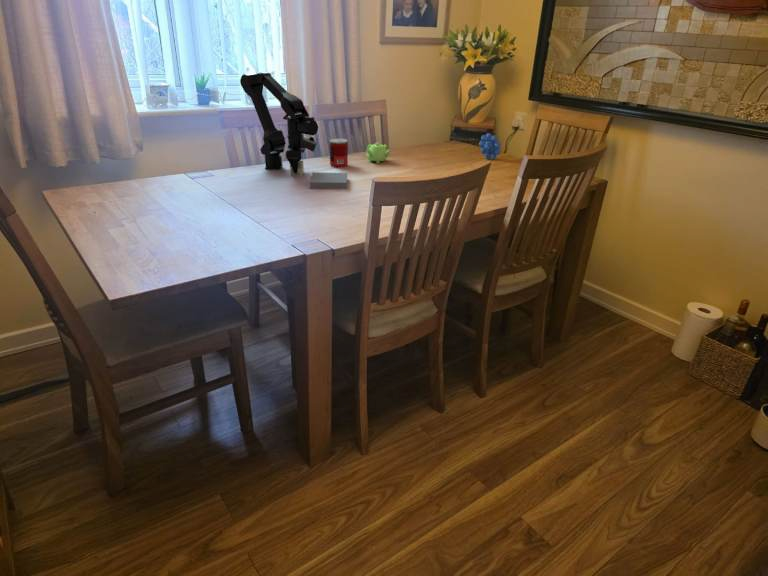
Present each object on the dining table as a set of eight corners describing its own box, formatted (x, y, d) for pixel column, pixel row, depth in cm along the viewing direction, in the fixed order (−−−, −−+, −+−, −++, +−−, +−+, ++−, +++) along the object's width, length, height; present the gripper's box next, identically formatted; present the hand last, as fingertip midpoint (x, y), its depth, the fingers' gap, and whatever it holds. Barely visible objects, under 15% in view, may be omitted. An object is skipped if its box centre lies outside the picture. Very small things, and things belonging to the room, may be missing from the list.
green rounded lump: (363, 158, 240) (363, 140, 236) (387, 158, 242) (388, 140, 238) (366, 164, 230) (366, 145, 226) (391, 164, 232) (392, 145, 228)
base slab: (310, 188, 195) (309, 182, 194) (312, 178, 207) (312, 172, 206) (346, 189, 196) (346, 182, 194) (347, 179, 208) (347, 172, 207)
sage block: (290, 175, 211) (289, 163, 208) (291, 172, 215) (291, 160, 213) (302, 175, 211) (302, 163, 209) (303, 172, 215) (303, 160, 213)
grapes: (473, 158, 246) (476, 132, 241) (480, 155, 251) (483, 130, 245) (494, 162, 240) (497, 136, 234) (501, 160, 245) (504, 134, 239)
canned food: (351, 164, 228) (351, 139, 223) (340, 168, 222) (340, 142, 217) (337, 162, 232) (337, 137, 227) (326, 165, 226) (325, 140, 221)
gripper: (313, 137, 197) (314, 176, 205) (316, 128, 214) (317, 165, 221) (284, 136, 197) (286, 176, 204) (289, 127, 213) (291, 164, 220)
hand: (296, 170), depth 212 cm, fingers open, 9 cm apart
